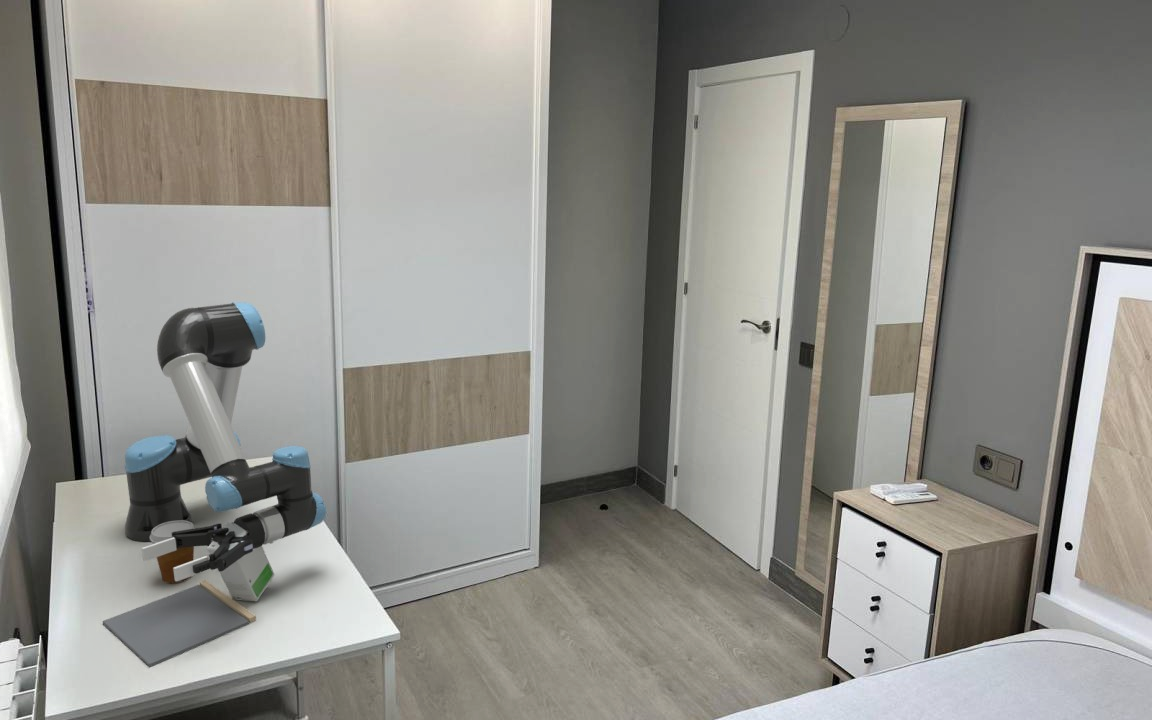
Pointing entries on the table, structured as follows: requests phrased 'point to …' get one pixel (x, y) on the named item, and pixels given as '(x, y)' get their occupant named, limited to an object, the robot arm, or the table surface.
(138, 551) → the table surface
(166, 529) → the disposable coffee cup
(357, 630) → the table surface
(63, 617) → the table surface
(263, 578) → the skincare box
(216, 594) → the rubber mat
